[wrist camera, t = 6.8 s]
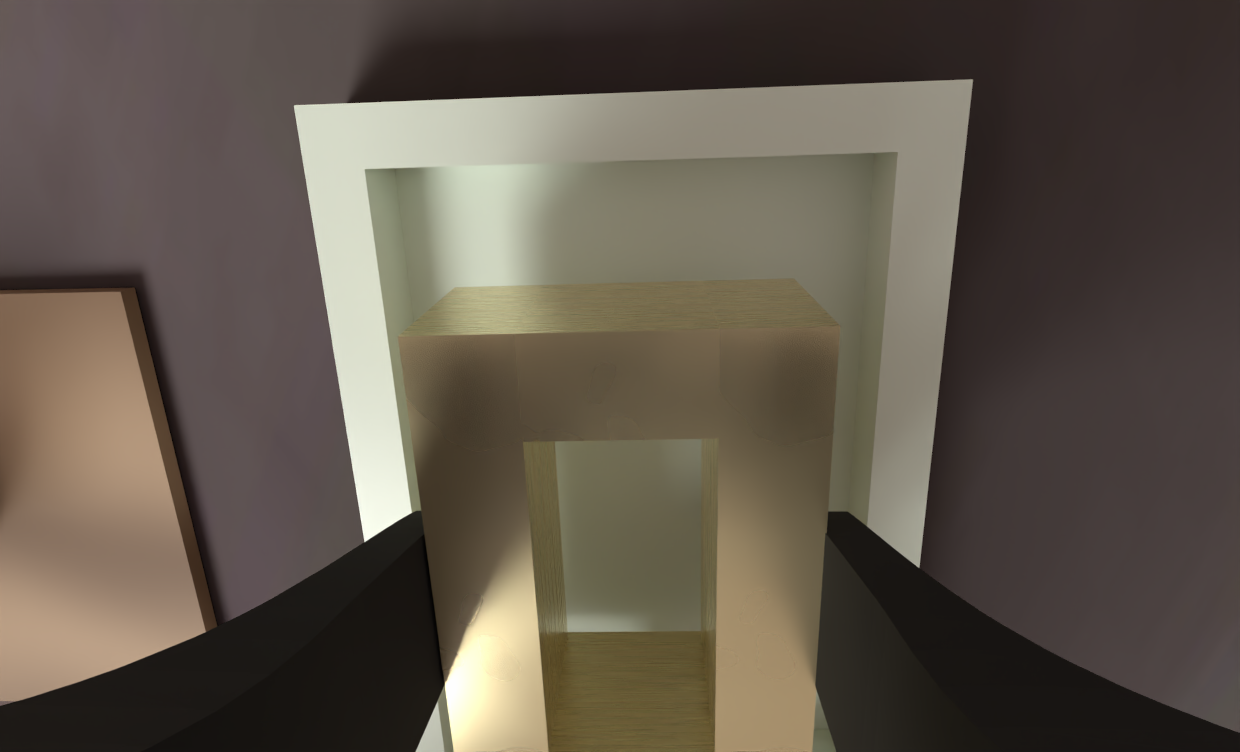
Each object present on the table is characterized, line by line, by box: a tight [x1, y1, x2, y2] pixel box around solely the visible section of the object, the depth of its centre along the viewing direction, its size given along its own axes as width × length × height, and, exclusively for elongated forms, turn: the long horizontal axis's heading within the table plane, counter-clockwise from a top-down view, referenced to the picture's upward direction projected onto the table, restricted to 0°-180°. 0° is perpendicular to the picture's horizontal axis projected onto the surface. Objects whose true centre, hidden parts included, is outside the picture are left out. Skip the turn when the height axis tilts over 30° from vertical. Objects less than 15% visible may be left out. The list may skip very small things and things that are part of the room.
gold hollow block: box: [398, 278, 840, 752], centre depth 12 cm, size 6×10×3 cm, turn 2°
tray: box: [294, 79, 973, 752], centre depth 14 cm, size 14×10×2 cm
